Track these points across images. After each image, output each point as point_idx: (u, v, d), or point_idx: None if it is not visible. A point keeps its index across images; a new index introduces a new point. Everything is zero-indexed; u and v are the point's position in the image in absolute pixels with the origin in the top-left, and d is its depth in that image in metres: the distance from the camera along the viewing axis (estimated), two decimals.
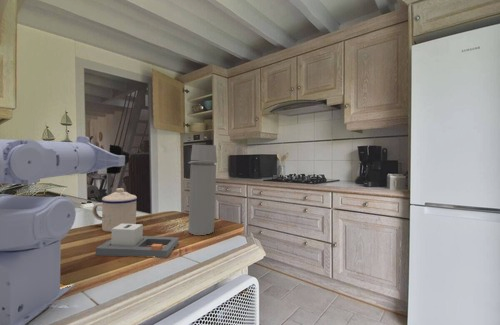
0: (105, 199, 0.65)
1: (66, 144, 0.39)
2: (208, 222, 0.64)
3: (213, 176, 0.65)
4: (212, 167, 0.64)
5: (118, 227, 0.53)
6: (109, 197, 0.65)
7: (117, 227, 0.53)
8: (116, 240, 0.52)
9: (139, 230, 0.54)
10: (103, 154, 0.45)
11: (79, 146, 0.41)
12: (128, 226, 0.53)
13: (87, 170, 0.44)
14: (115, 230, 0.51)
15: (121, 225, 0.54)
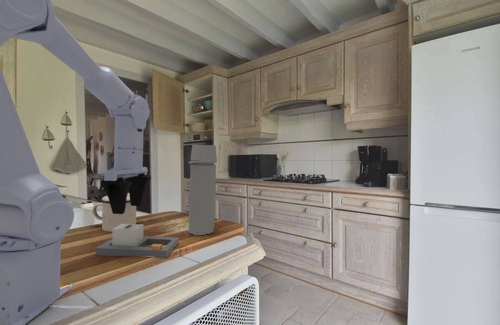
0: (105, 199, 0.65)
1: None
2: (208, 222, 0.64)
3: (213, 176, 0.65)
4: (212, 167, 0.64)
5: (119, 227, 0.52)
6: None
7: (118, 227, 0.52)
8: (117, 241, 0.51)
9: (140, 230, 0.54)
10: None
11: (134, 155, 0.51)
12: (129, 226, 0.53)
13: (114, 165, 0.51)
14: (116, 230, 0.51)
15: (122, 225, 0.54)
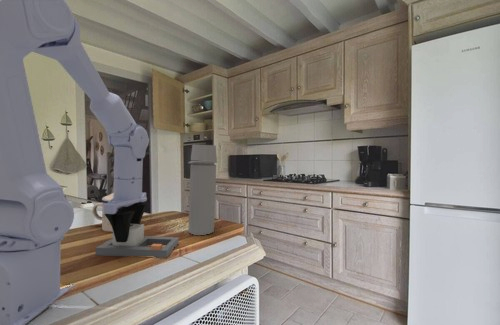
0: (105, 199, 0.65)
1: None
2: (208, 222, 0.64)
3: (213, 176, 0.65)
4: (212, 167, 0.64)
5: None
6: (109, 197, 0.65)
7: None
8: None
9: (140, 230, 0.54)
10: None
11: (134, 185, 0.51)
12: None
13: (113, 195, 0.51)
14: None
15: None
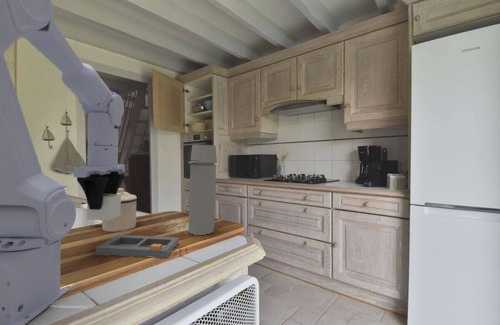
0: None
1: None
2: (208, 222, 0.64)
3: (213, 176, 0.65)
4: (212, 167, 0.64)
5: None
6: None
7: None
8: None
9: (116, 199, 0.53)
10: None
11: (107, 152, 0.51)
12: (105, 195, 0.53)
13: (87, 162, 0.51)
14: None
15: None
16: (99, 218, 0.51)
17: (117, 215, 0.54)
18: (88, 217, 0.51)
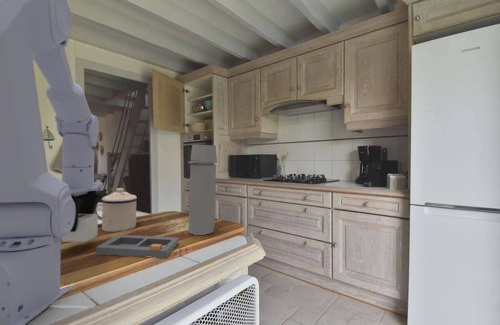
0: (105, 199, 0.65)
1: None
2: (208, 222, 0.64)
3: (213, 176, 0.65)
4: (212, 167, 0.64)
5: None
6: (109, 197, 0.65)
7: None
8: None
9: (93, 220, 0.53)
10: None
11: (82, 174, 0.50)
12: (81, 216, 0.52)
13: None
14: None
15: None
16: (74, 240, 0.51)
17: (93, 235, 0.53)
18: (63, 239, 0.51)
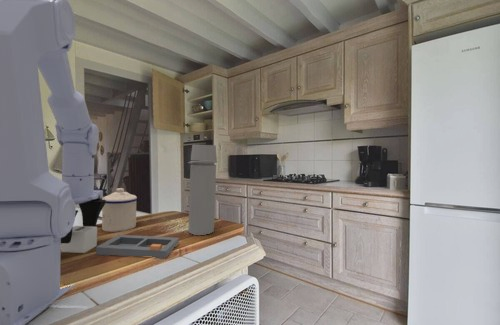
0: (105, 199, 0.65)
1: None
2: (208, 222, 0.64)
3: (213, 176, 0.65)
4: (212, 167, 0.64)
5: None
6: (109, 197, 0.65)
7: None
8: (66, 243, 0.50)
9: (92, 232, 0.53)
10: None
11: (82, 183, 0.50)
12: (80, 228, 0.52)
13: None
14: None
15: (74, 227, 0.53)
16: None
17: None
18: None
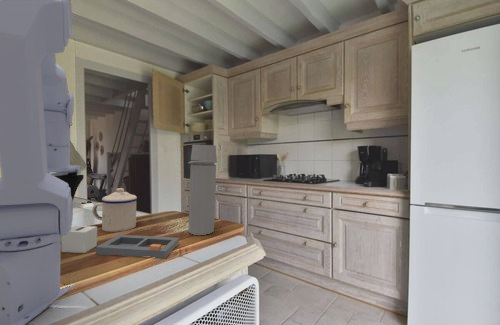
0: (105, 199, 0.65)
1: None
2: (208, 222, 0.64)
3: (213, 176, 0.65)
4: (212, 167, 0.64)
5: None
6: (109, 197, 0.65)
7: None
8: (66, 243, 0.50)
9: (92, 232, 0.53)
10: None
11: (57, 153, 0.48)
12: (80, 228, 0.52)
13: None
14: None
15: (74, 227, 0.53)
16: None
17: None
18: None
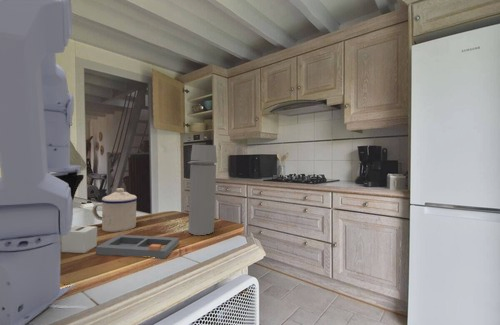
0: (105, 199, 0.65)
1: None
2: (208, 222, 0.64)
3: (213, 176, 0.65)
4: (212, 167, 0.64)
5: None
6: (109, 197, 0.65)
7: None
8: (66, 243, 0.50)
9: (92, 232, 0.53)
10: None
11: (57, 153, 0.48)
12: (80, 228, 0.52)
13: None
14: None
15: (74, 227, 0.53)
16: None
17: None
18: None
